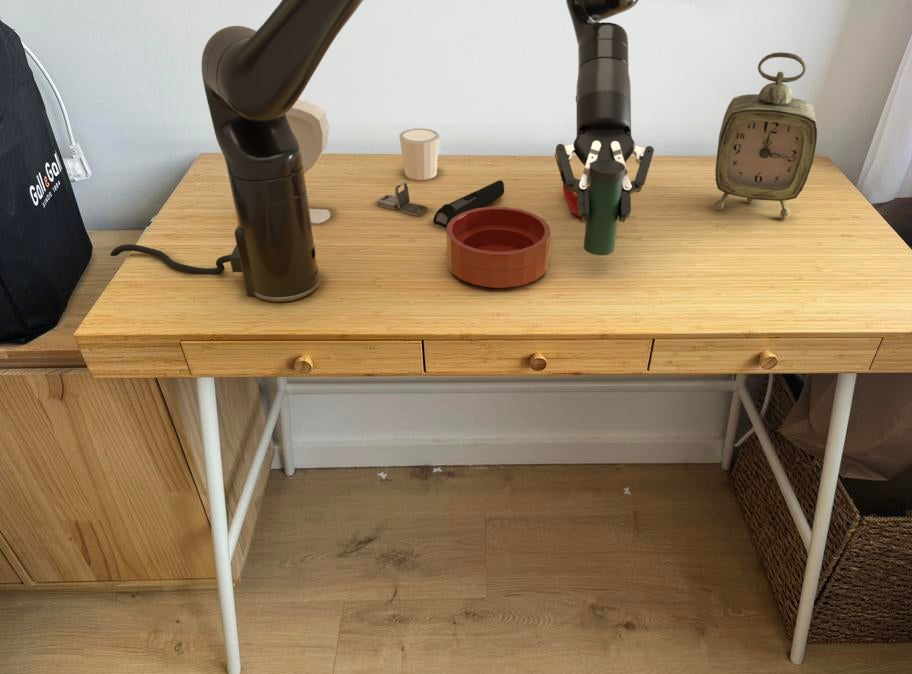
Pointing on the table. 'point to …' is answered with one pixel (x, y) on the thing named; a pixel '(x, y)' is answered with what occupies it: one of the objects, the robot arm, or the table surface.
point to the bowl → (498, 246)
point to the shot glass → (420, 153)
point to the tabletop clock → (766, 143)
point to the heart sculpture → (310, 140)
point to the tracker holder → (572, 198)
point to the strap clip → (401, 201)
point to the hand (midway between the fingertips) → (604, 219)
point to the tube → (603, 206)
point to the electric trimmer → (469, 203)
